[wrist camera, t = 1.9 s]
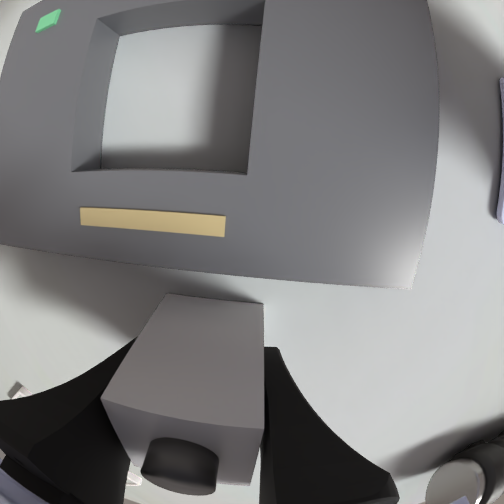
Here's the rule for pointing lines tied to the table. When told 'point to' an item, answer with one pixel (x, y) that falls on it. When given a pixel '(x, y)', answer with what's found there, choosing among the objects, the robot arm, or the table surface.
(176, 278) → the table surface
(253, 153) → the charging plate
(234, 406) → the charger plug
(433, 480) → the muzzle brake
